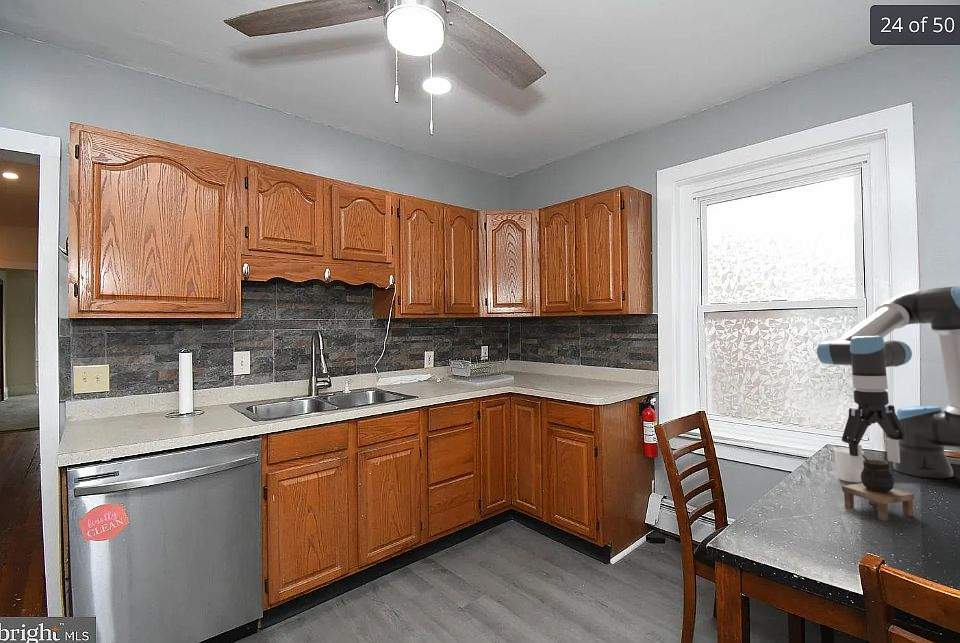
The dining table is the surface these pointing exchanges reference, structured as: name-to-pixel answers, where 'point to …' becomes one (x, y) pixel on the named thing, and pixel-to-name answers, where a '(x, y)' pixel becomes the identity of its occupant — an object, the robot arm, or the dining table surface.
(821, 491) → the dining table surface
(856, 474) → the white cup
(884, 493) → the walnut stool
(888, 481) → the mate gourd
